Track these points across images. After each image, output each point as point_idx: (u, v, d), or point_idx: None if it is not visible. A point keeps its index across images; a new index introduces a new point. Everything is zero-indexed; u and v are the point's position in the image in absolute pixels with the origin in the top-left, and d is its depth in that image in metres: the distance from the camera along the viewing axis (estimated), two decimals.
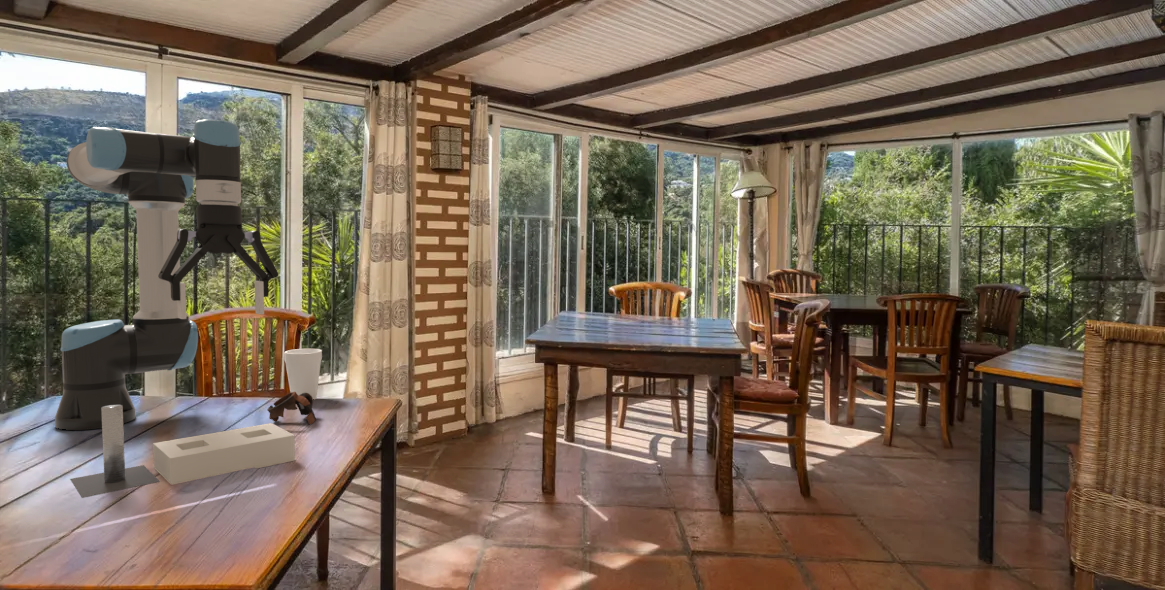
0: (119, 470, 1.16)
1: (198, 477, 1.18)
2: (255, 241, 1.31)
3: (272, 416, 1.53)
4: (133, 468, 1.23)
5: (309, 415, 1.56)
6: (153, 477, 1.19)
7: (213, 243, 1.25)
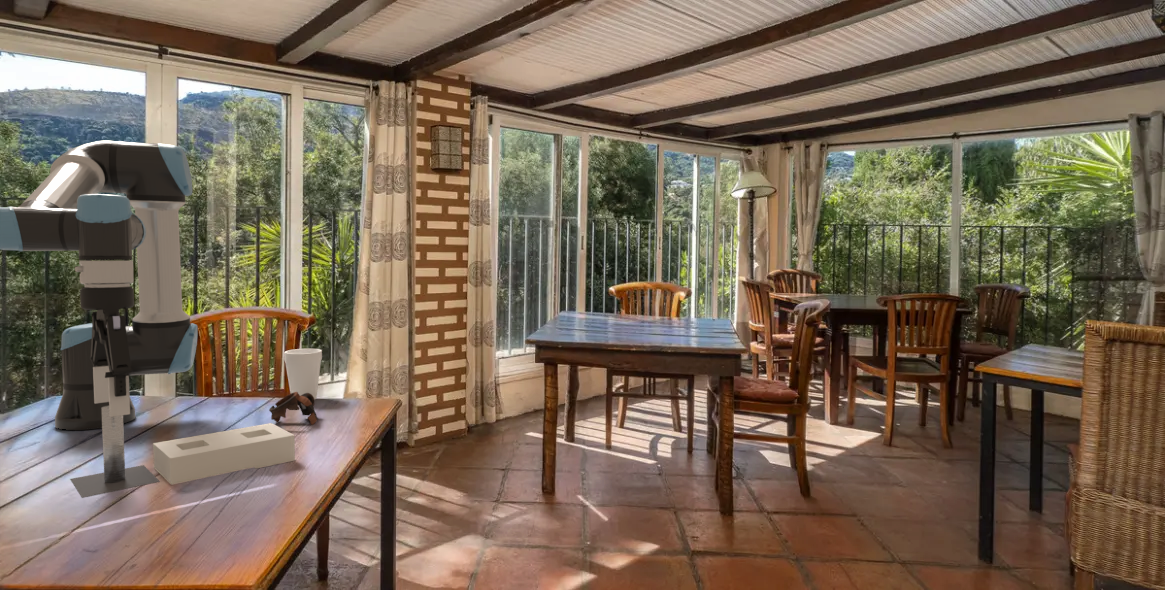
0: (119, 470, 1.16)
1: (198, 477, 1.18)
2: None
3: (274, 416, 1.53)
4: (133, 468, 1.23)
5: (311, 415, 1.56)
6: (153, 477, 1.19)
7: None
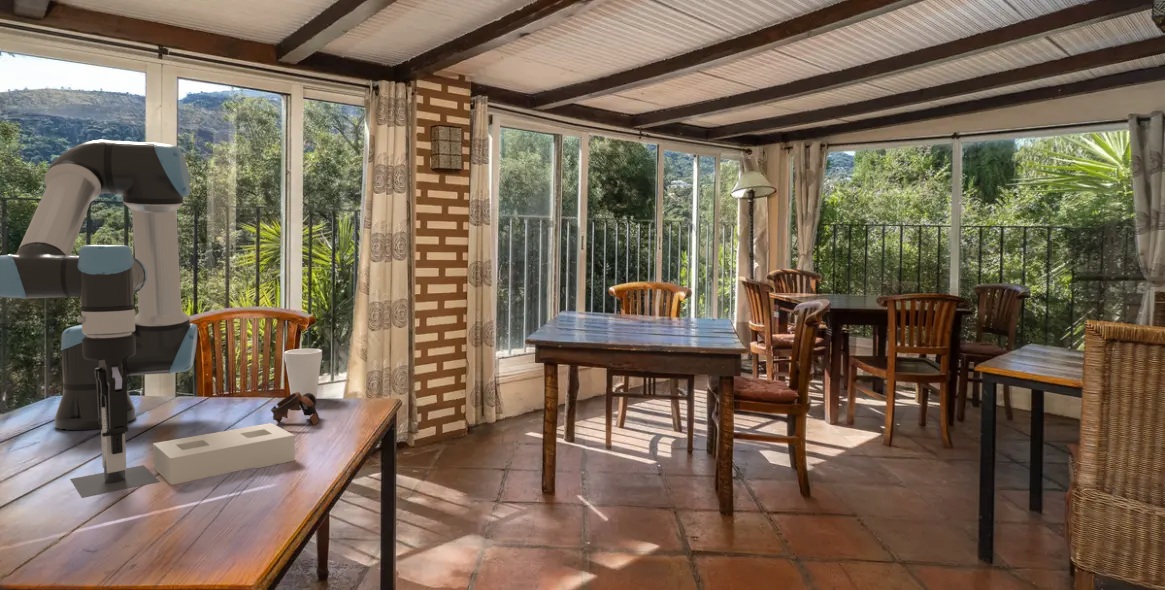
0: None
1: (198, 477, 1.18)
2: None
3: (275, 417, 1.53)
4: (133, 468, 1.23)
5: (313, 416, 1.56)
6: (153, 477, 1.19)
7: (96, 377, 1.15)
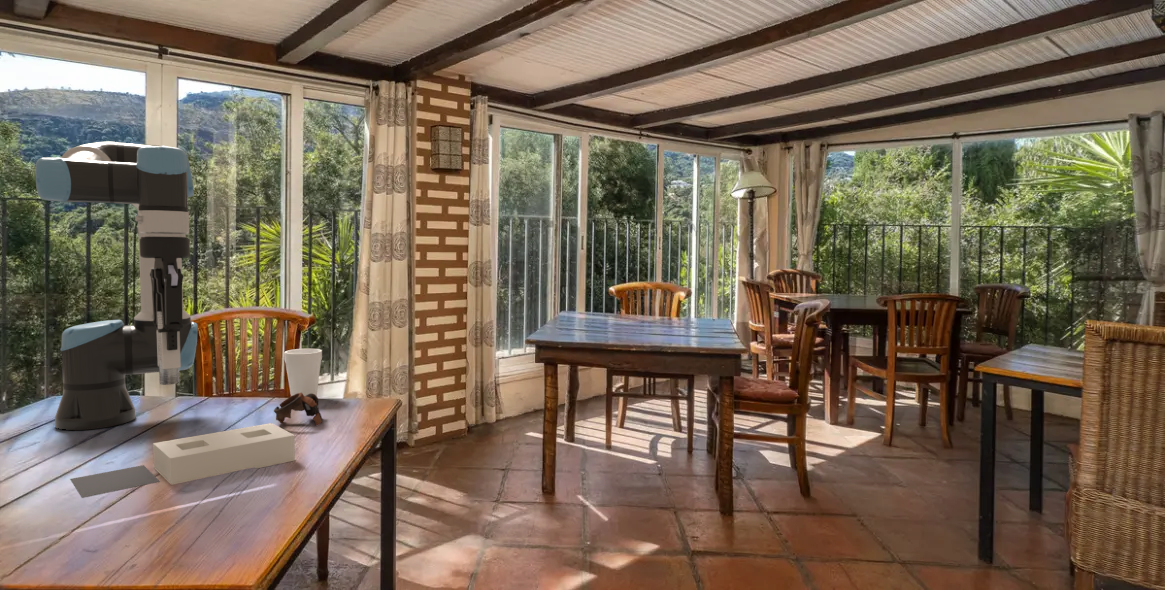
0: (174, 372, 1.20)
1: (198, 477, 1.18)
2: None
3: (278, 417, 1.52)
4: (133, 468, 1.23)
5: (316, 416, 1.55)
6: (153, 477, 1.19)
7: (152, 277, 1.19)
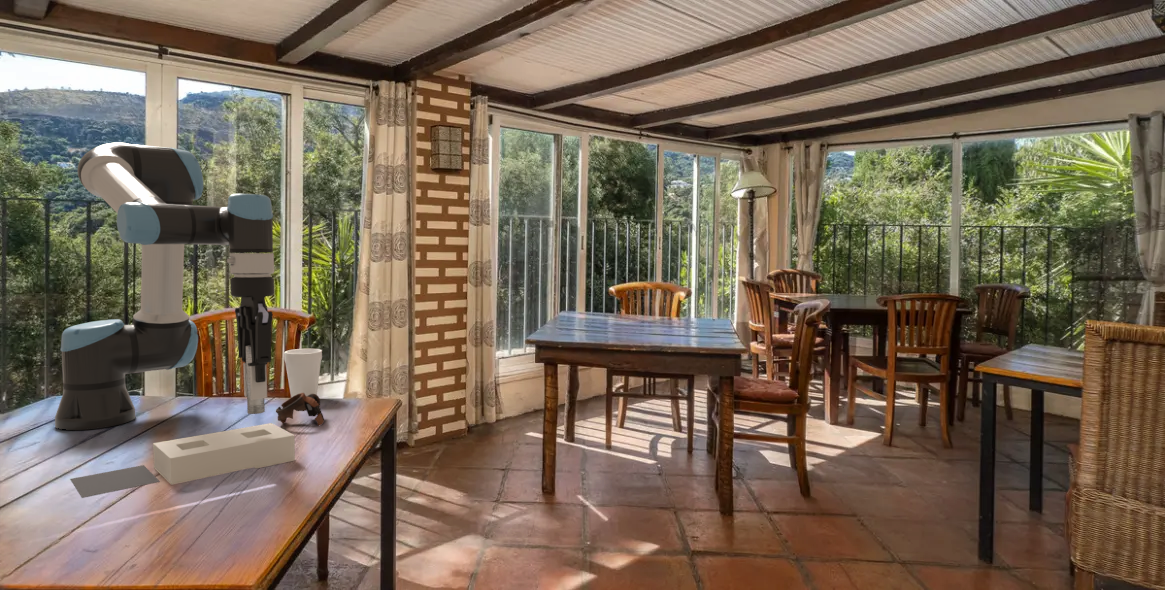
0: (261, 402, 1.29)
1: (198, 477, 1.18)
2: (256, 321, 1.24)
3: (280, 418, 1.52)
4: (133, 468, 1.23)
5: (318, 416, 1.55)
6: (153, 477, 1.19)
7: (241, 314, 1.28)
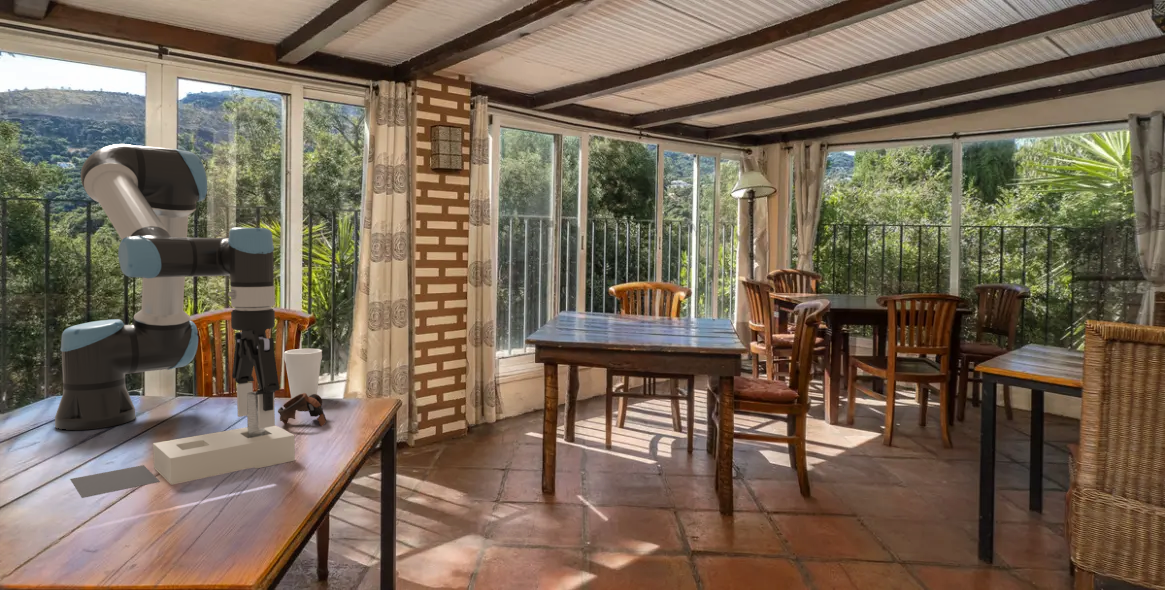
0: None
1: (198, 477, 1.18)
2: (258, 349, 1.24)
3: (283, 418, 1.52)
4: (133, 468, 1.23)
5: (320, 416, 1.55)
6: (153, 477, 1.19)
7: (240, 346, 1.29)
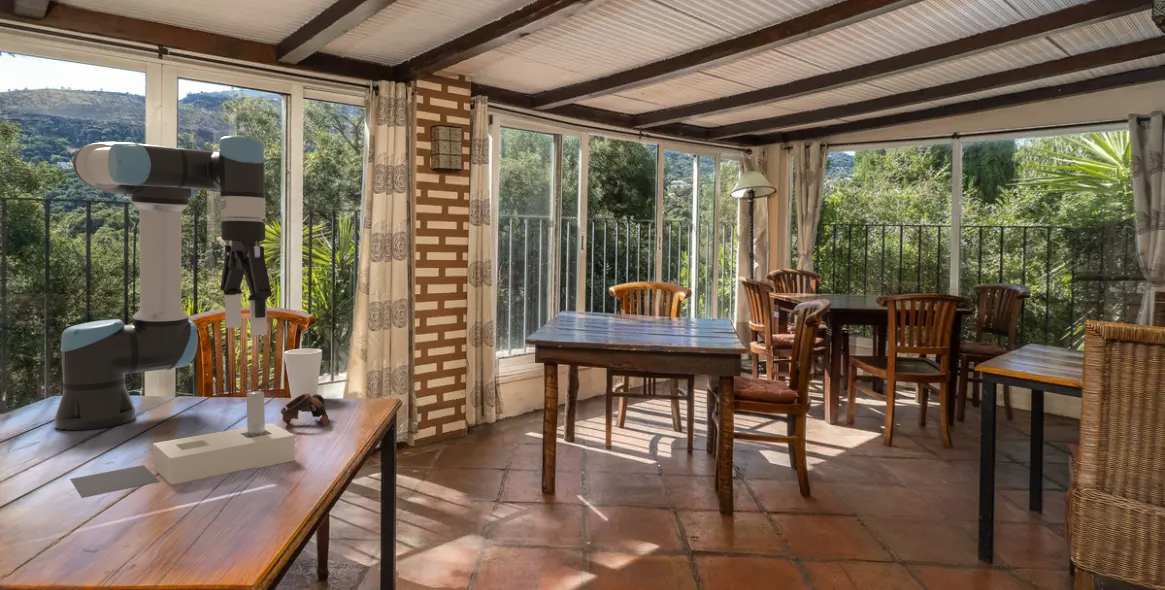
0: None
1: (198, 477, 1.18)
2: (248, 257, 1.23)
3: (285, 418, 1.51)
4: (133, 468, 1.23)
5: (323, 417, 1.55)
6: (153, 477, 1.19)
7: (230, 258, 1.28)
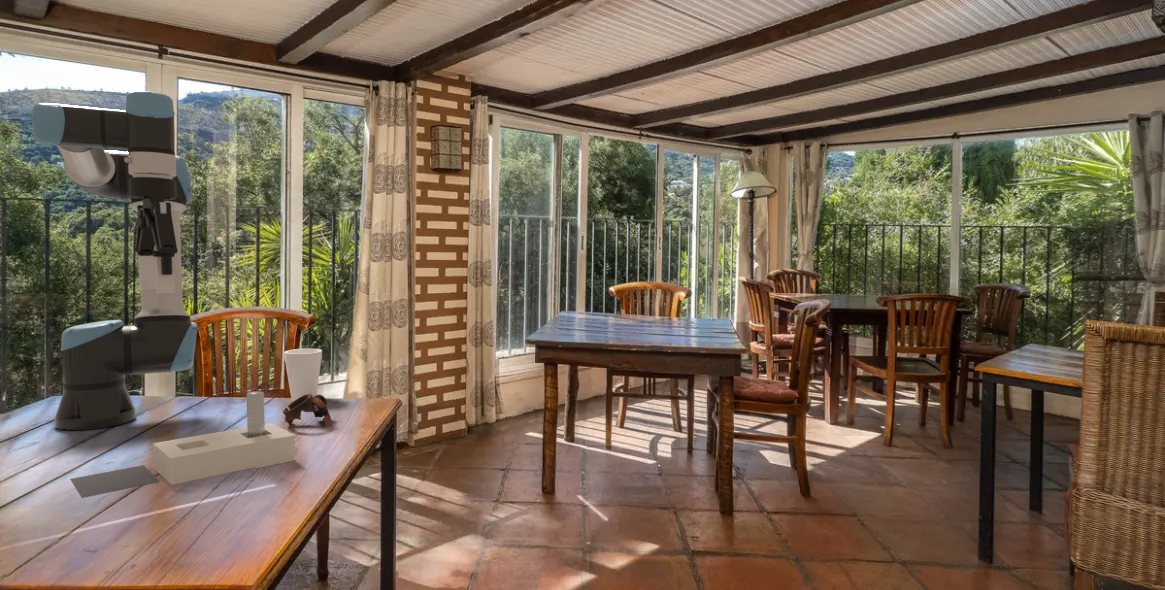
0: None
1: (198, 477, 1.18)
2: None
3: (288, 419, 1.51)
4: (133, 468, 1.23)
5: (326, 417, 1.54)
6: (153, 477, 1.19)
7: (140, 217, 1.25)
